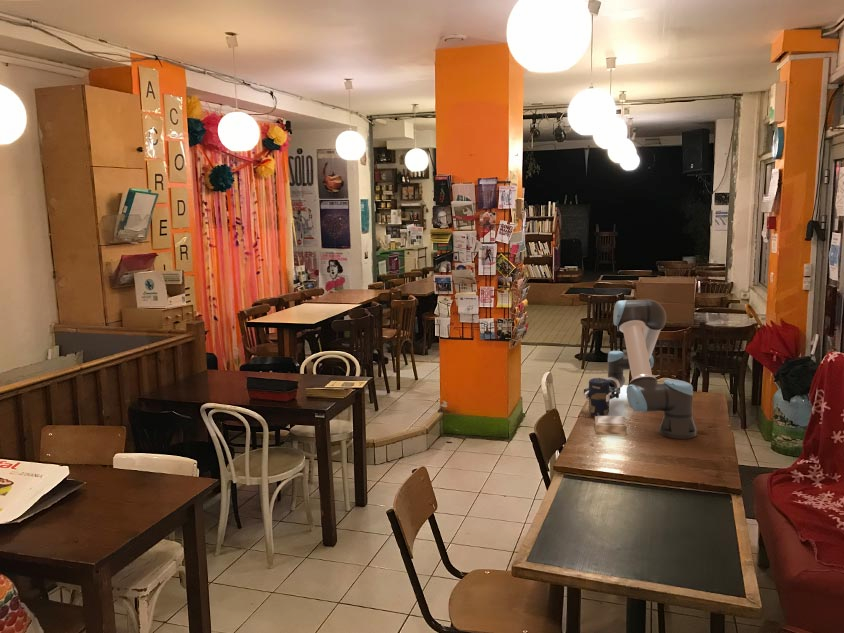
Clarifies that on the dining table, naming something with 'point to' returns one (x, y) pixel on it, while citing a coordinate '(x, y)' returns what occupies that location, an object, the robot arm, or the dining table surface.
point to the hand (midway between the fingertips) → (596, 397)
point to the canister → (598, 397)
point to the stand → (610, 425)
